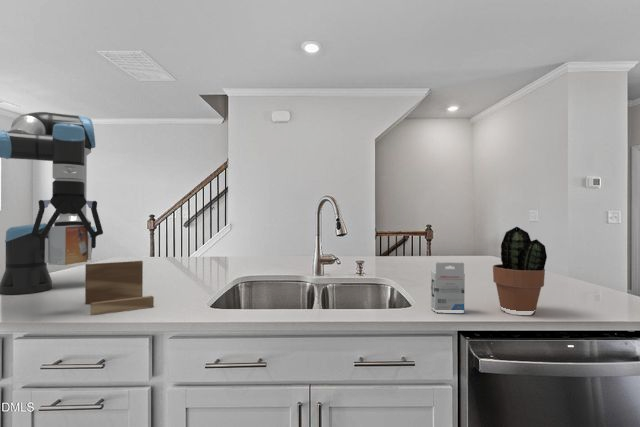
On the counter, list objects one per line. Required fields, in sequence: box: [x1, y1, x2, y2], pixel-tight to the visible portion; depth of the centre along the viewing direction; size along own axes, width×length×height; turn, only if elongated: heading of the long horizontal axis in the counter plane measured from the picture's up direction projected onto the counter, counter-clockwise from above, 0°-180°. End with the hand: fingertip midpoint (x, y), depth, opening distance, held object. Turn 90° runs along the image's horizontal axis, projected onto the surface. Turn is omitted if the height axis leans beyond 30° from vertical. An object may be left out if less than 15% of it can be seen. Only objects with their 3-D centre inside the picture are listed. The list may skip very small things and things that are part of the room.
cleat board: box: [84, 260, 155, 316], centre depth 118 cm, size 17×16×12 cm
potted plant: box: [492, 226, 548, 311], centre depth 114 cm, size 14×14×25 cm
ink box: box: [430, 261, 466, 311], centre depth 114 cm, size 8×5×15 cm, turn 90°
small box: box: [47, 225, 88, 266], centre depth 109 cm, size 8×6×10 cm
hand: (68, 260), depth 109 cm, fingers closed on small box, 9 cm apart
